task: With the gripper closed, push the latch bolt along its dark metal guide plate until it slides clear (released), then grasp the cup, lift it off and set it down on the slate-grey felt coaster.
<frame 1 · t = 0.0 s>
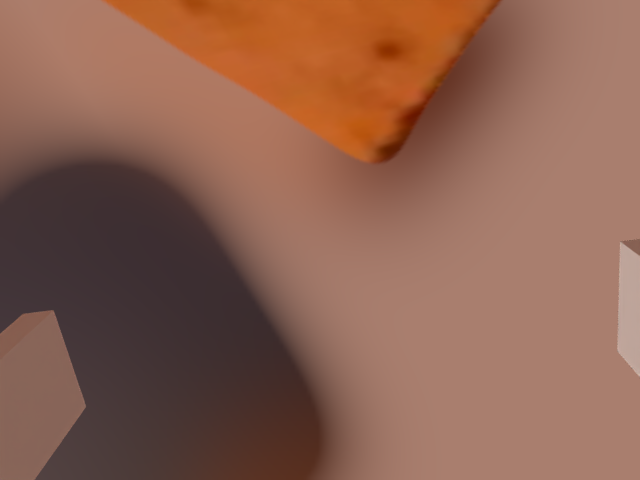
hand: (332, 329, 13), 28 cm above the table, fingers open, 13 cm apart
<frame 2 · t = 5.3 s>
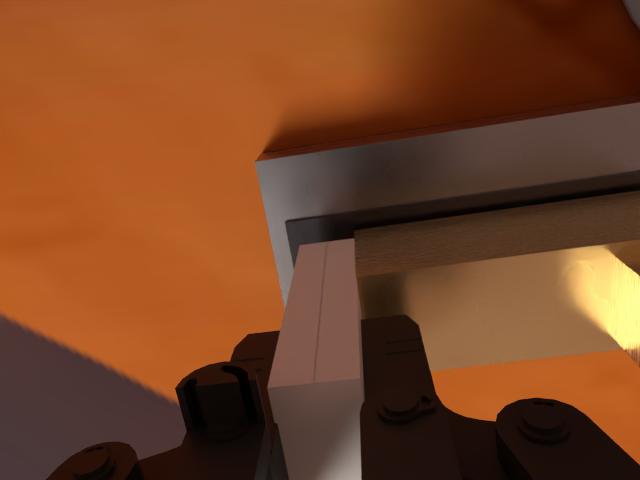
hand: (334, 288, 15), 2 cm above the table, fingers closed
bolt: (535, 295, 13), point 4 cm above the table, slide at 1.4 cm, touching gripper
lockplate: (529, 230, 17), on the table
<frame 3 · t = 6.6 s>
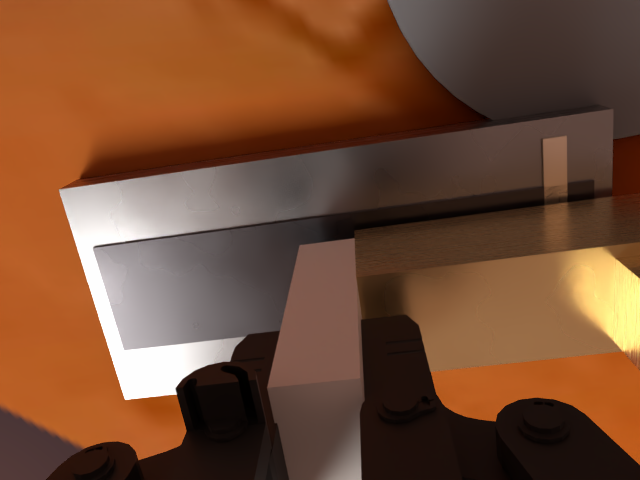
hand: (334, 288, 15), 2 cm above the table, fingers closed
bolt: (535, 296, 13), point 4 cm above the table, slide at 7.0 cm, touching gripper
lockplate: (341, 255, 17), on the table
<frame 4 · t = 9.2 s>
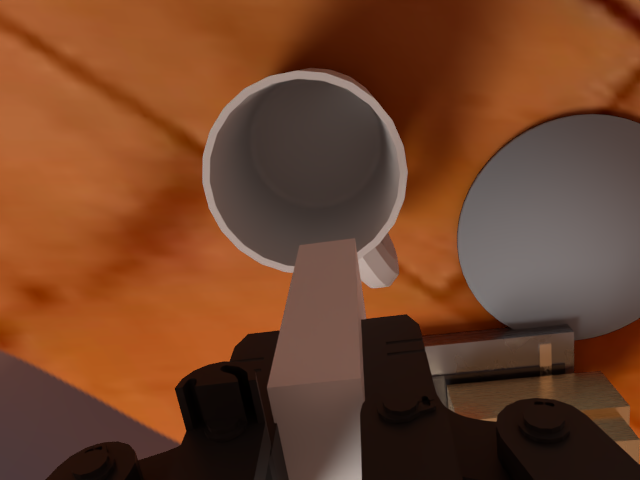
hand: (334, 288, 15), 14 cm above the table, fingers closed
coaster: (574, 232, 29), on the table
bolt: (539, 429, 28), point 4 cm above the table, slide at 7.2 cm
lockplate: (430, 390, 32), on the table
cup: (331, 165, 29), on the table
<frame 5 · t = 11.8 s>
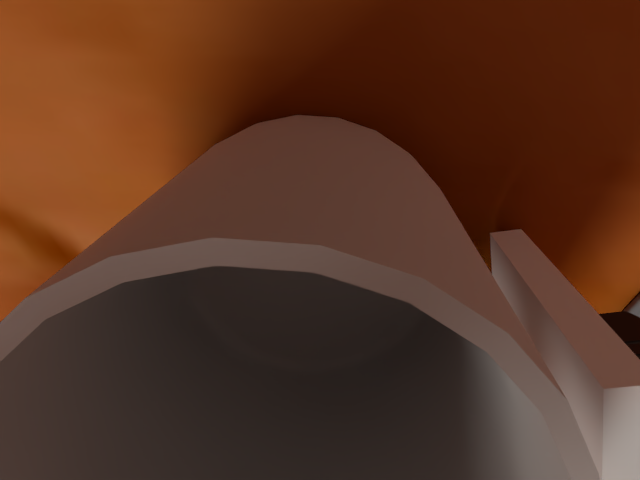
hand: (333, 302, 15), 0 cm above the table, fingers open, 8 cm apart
cup: (340, 292, 15), on the table, touching gripper
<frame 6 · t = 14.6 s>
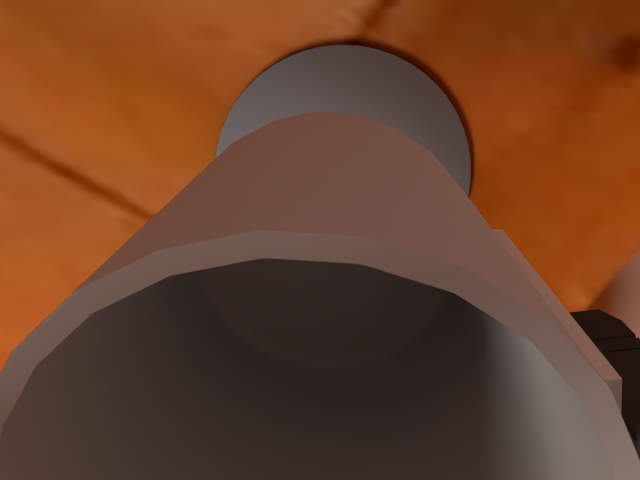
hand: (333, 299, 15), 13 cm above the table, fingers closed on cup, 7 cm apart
coaster: (341, 178, 27), on the table
cup: (357, 288, 15), point 13 cm above the table, touching gripper
when the fingers open (2 cm above the table, at t = 16.9 s): cup drops 1 cm, resting on coaster.
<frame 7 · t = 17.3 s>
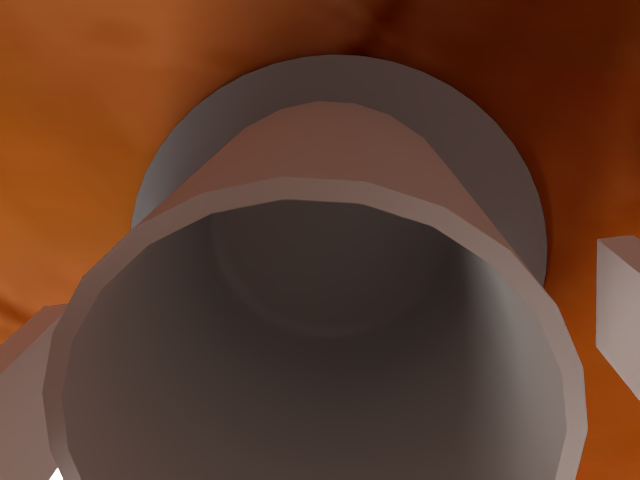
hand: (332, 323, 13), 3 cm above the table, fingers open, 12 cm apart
coaster: (335, 268, 17), on the table
cup: (356, 264, 17), resting on coaster
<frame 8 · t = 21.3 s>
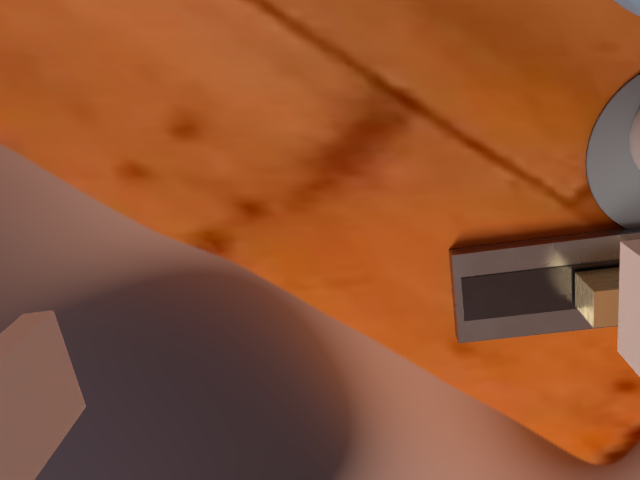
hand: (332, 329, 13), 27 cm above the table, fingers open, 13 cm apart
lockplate: (556, 281, 41), on the table
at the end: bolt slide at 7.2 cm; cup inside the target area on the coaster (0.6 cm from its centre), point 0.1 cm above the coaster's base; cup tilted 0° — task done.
